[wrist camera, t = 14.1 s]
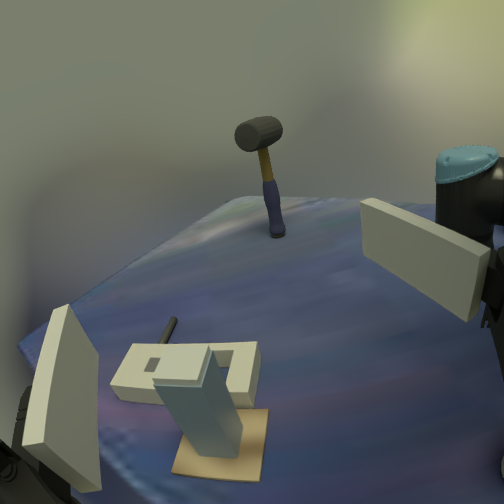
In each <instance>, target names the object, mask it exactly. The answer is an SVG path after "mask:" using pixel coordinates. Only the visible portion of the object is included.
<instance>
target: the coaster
mask: <svg viewBox="0 0 504 504" xmlns="http://www.w3.org/2000/svg"><path fill="white" fill-rule="evenodd" d="M236 410H237V413H238V415H239V418H240V420H241V423H242V425H243V432H242V437H241V443H240V449H239V455H238V459H236V458H218V457H205V456H199V455H198V453H197V452H196V451H195V449H194V448H193V446H192V445H191V443H190V442H189V441H188V439H187V438H186V436H185V435H184V433H183V436H182V440H181V443H180V446H179V449H178V452H177V455H176V458H175V462H174V465H173V468H172V471H171V473H172V474H174V475H181V476H187V477H195V478H203V479H212V480H223V481H235V482H254V483H260V479H261V471H262V464H263V457H264V449H265V441H266V433H267V425H268V417H269V409H236Z"/></svg>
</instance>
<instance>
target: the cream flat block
mask: <svg viewBox="0 0 504 504" xmlns="http://www.w3.org/2000/svg"><path fill="white" fill-rule="evenodd" d="M176 322H177V318H176V317H174V316H173V317H171V319H170V321H169V323H168V325H167V327H166V329H165V331H164V333H163V335H162V337H161V339H160V341H159V343H158V344H132V346H131V348H130V350H129V351H128V353H127V355H126V357H125V358H124V360H123V362H122V364H121V365H120V367H119V369H118V371H117V372H116V374H115V376H114V378H113V380H112V381H111V383H110V386H111V387H112V389H113V390H114V392H115V393H116V395H117V396H118V397H119V399H120V400H124V401H131V402H139V403H148V404H158V405H165V404H164V403H163V401H162V399H161V398H160V396H159V394H158V393H157V391H156V389H155V388H154V386H153V384H154V381H153V380H152V376H153V374H154V372H155V369H156V367H157V365H158V363H159V361H160V359H161V356H162V354H163V352H164V350H165V348H166V345H209V347H210V350H213V352H214V354H215V357H216V360H217V362H218V365H219V367H230V368H229V372H228V377H227V381H226V386H227V388H228V391H229V393H230V396H231V398H232V401H233V403H234V406H235V408H236V409H254V404H255V397H256V391H257V385H258V378H259V372H260V365H261V355H260V351H259V347H258V343H257V341H256V342H237V343H208V344H166V343H167V341H168V339H169V336H170V334H171V332H172V330H173V328H174V326H175V324H176Z"/></svg>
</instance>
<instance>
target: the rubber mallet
mask: <svg viewBox="0 0 504 504" xmlns="http://www.w3.org/2000/svg"><path fill="white" fill-rule="evenodd" d="M282 133H283V128H282V125H281V123H280V121H279V120H278V119H276V118H274V117H272V116H265V117H257V118H254V119H251V120H248V121H246V122H243V123H241V124H240V125H239V126H238V127H237V128H236V130H235V141H236V143H237V145H238V146H239V148H241V149H242V150H244V151H247V152H253V151H256V150H258V155H259V161H260V166H261V172H262V177H263V193H264V201H265V204H266V207H267V210H268V216H269V221H270V233H271V234H272V235H273V237H281V236H283V235H284V233H285V225H284V223H283V220H282V214H281V208H280V196H279V191H278V188H277V184H276V181H275V180H274V178H273V173H272V168H271V163H270V158H269V153H268V148H267V147H268V146H270V145H272V144H273V143H275V142H276V141H278V140H279V139H280V138H281V136H282Z"/></svg>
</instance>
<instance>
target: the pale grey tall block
mask: <svg viewBox="0 0 504 504" xmlns="http://www.w3.org/2000/svg"><path fill="white" fill-rule="evenodd" d="M152 380H153V381H154V384H153V386H154V388H155V389H156V391H157V393H158V394H159V396H160V398H161V399H162V401H163V403H164V404H165V406H166V407H167V409H168V411H169V412H170V414H171V415H172V417H173V418H174V420H175V421H176V423H177V424H178V426H179V427H180V429H181V430H182V432H183V433H184V435H185V436H186V438H187V439H188V441H189V442H190V443H191V445H192V446H193V448H194V449H195V451H196V452H197V453H198V455H199V456H205V457H218V458H236V459H238V455H239V449H240V443H241V437H242V432H243V425H242V423H241V420H240V418H239V415H238V413H237V410H236V408H235V406H234V403H233V401H232V398H231V396H230V393H229V391H228V388H227V386H226V383H225V381H224V378H223V375H222V373H221V370H220V368H219V365H218V362H217V360H216V357H215V354H214V352H213V350H210V347H209V345H166V348H165V350H164V352H163V354H162V356H161V359H160V361H159V363H158V365H157V367H156V369H155V372H154V374H153V376H152Z"/></svg>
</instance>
